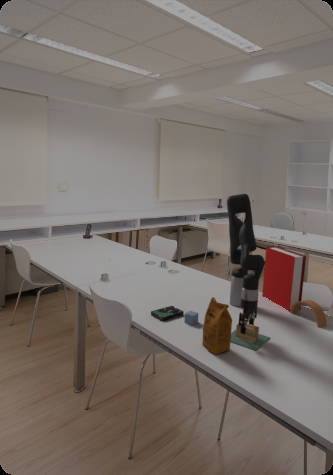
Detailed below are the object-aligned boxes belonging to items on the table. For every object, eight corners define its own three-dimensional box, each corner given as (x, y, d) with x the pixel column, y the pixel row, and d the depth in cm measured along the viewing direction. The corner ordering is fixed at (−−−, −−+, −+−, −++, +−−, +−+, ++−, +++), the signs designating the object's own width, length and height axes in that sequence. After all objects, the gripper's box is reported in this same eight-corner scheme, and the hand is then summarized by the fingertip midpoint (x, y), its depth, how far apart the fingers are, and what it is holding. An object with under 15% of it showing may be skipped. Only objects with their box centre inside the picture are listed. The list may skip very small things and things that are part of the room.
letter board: (239, 328, 177) (239, 327, 177) (269, 338, 167) (269, 337, 167) (223, 339, 165) (223, 338, 164) (255, 350, 155) (255, 349, 155)
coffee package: (217, 339, 164) (220, 294, 160) (233, 352, 153) (236, 303, 149) (198, 343, 160) (201, 297, 156) (213, 356, 149) (216, 307, 145)
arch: (297, 311, 201) (299, 295, 199) (326, 326, 183) (328, 307, 181) (289, 313, 199) (291, 296, 197) (318, 327, 181) (320, 309, 179)
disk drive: (171, 310, 199) (150, 315, 190) (171, 305, 199) (150, 310, 189) (183, 316, 191) (162, 322, 182) (184, 311, 191) (162, 317, 182)
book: (300, 310, 204) (306, 255, 198) (288, 311, 201) (294, 256, 195) (271, 294, 229) (275, 245, 223) (260, 295, 226) (264, 246, 220)
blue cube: (189, 319, 186) (190, 310, 185) (197, 322, 183) (198, 313, 182) (184, 322, 182) (184, 313, 181) (192, 325, 179) (193, 316, 178)
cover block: (240, 333, 171) (241, 321, 169) (258, 339, 165) (259, 327, 164) (235, 336, 167) (236, 324, 166) (253, 342, 161) (254, 330, 160)
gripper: (248, 291, 170) (246, 323, 173) (234, 299, 159) (232, 333, 162) (263, 295, 165) (260, 328, 168) (250, 303, 154) (247, 338, 157)
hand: (246, 330), depth 165 cm, fingers open, 8 cm apart
